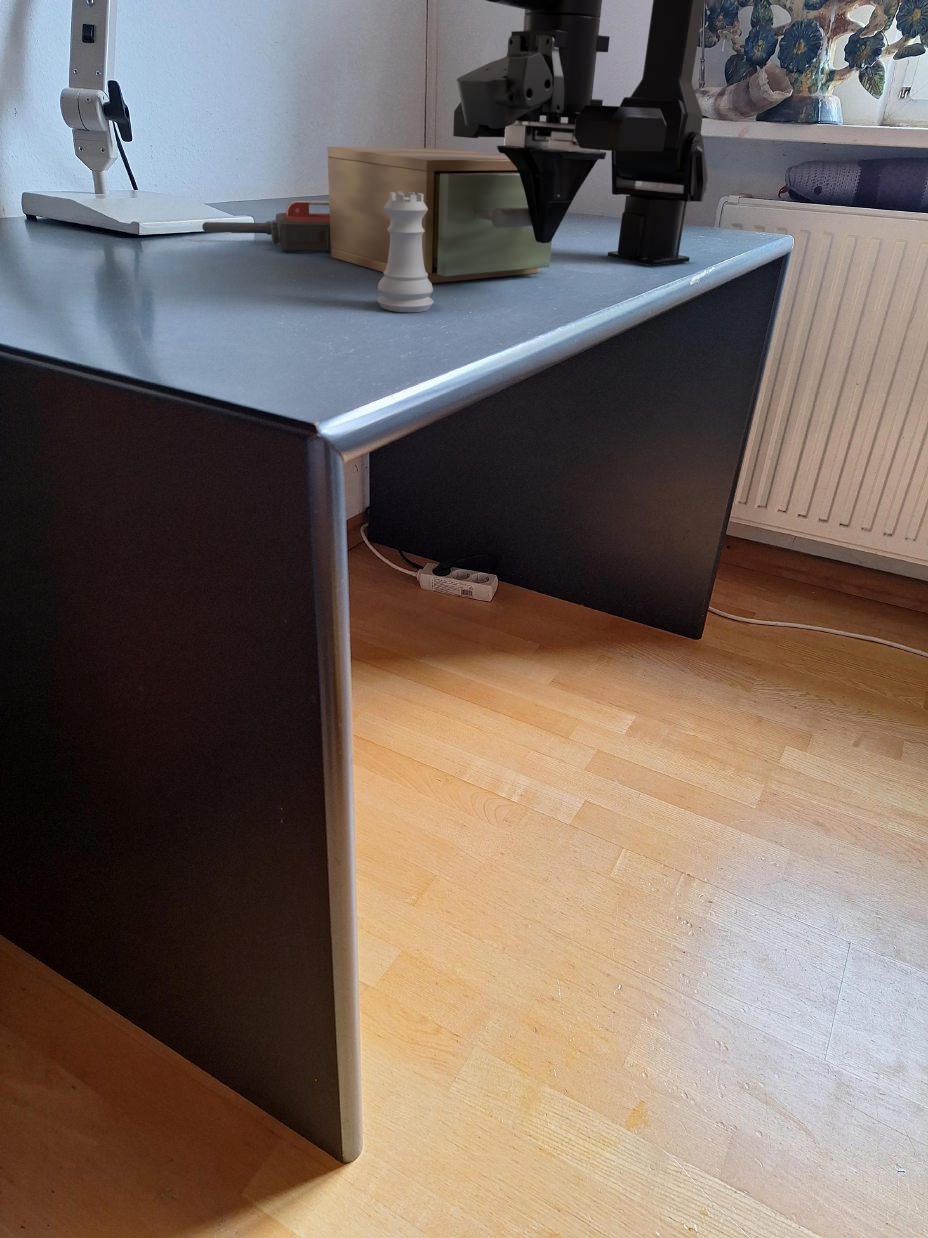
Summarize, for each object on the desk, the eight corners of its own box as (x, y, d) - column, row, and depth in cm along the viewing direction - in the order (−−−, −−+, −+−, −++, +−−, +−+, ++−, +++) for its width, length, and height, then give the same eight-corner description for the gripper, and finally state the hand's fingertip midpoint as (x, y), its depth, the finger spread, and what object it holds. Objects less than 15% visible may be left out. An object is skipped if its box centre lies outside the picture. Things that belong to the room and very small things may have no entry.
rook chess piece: (365, 307, 66) (363, 192, 62) (396, 298, 70) (396, 188, 66) (415, 315, 65) (417, 197, 60) (444, 306, 68) (447, 193, 64)
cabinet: (537, 272, 83) (547, 159, 78) (424, 284, 76) (426, 159, 71) (439, 249, 94) (442, 147, 89) (330, 257, 86) (327, 146, 81)
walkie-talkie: (387, 240, 97) (203, 239, 92) (387, 197, 95) (198, 193, 90) (403, 253, 90) (204, 252, 85) (403, 206, 88) (199, 203, 83)
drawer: (579, 273, 79) (590, 177, 74) (474, 284, 72) (479, 178, 68) (454, 244, 91) (457, 160, 87) (353, 251, 84) (351, 160, 80)
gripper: (402, 11, 66) (400, 232, 74) (575, 0, 54) (551, 266, 62) (509, 24, 72) (498, 226, 80) (687, 17, 60) (652, 256, 68)
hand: (543, 242), depth 73 cm, fingers closed
